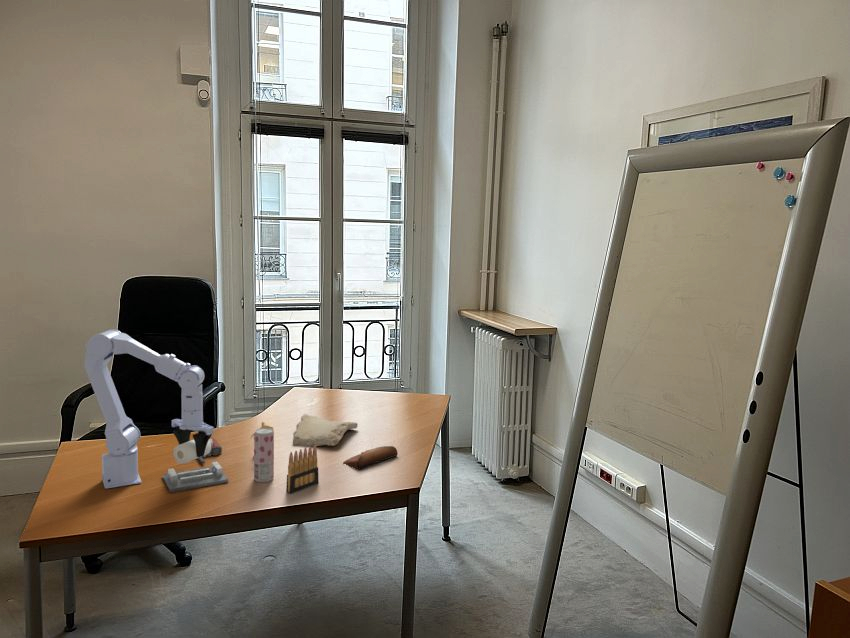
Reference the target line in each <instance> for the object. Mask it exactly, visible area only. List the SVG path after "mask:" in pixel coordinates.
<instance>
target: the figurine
mask: <svg viewBox="0 0 850 638" xmlns="http://www.w3.org/2000/svg"><path fill="white" fill-rule="evenodd" d="M260 428H270V429H272V430H273V433H274V434H275V432H274V431H275V430H274V427H272V426H269V425H267V424H266V423H265V422H264V421H262V422H261V426H260ZM260 428H258V429H260ZM254 434H255V432H254V433H252V435H251V436H250V439H252V438H254Z"/></svg>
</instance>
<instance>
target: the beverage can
mask: <svg viewBox="0 0 850 638" xmlns="http://www.w3.org/2000/svg"><path fill="white" fill-rule="evenodd" d="M273 430H274V429H273ZM273 430H272V429H270V428H261V427H260V429H259V428H257V429H255V430H254V433H255V434H254V433H253V434H254V436H253V453H254V454H253V479H254V480H255V482H257V483H268V482H271V481H273V479H274V477H275V476H274V473H275V472H274V470H275V467H274V466H275V465H274V464H275V458H274V457H275V455H274V454H275V453H274V452H275V451H274V449H275V447H274V446H275V432H274V433H273Z"/></svg>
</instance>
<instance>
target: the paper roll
mask: <svg viewBox="0 0 850 638" xmlns="http://www.w3.org/2000/svg"><path fill="white" fill-rule="evenodd" d="M210 451H211V443H210V441H208V443H207V446H206V449H205V453H204V455H207V454H209V453H210ZM173 457H174V459H175V461H176V462H177V463H178V464H180V465H185V464H186V463H190V462H191V461H194V460H197V459H198V458H199V457H197V455H196V445H195V441H194V439H190V441H188V442H186V443H183V444H180V445H179V444H177V445H176V446H175V447H174V448H173ZM201 457H202V456H201ZM202 458H203V457H202Z"/></svg>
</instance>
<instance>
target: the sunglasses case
mask: <svg viewBox="0 0 850 638" xmlns="http://www.w3.org/2000/svg"><path fill="white" fill-rule="evenodd" d="M394 457H398V450H397V448H396V447H395V446H393V445H384V446H383V445H382V446H380V447H379V446H378V447H375V448H374V447H373V448H371V449H368V450H367V449H366V450H365V451H361V453H360V454H356V455H355V456H352V457H350V458H348V459H346V460H344V461H343V462H342V463H343V465H344V464H346V465H345V466H347V465H348V467H350V468H352V467H353V468H352V469H354V468H355V470H357V469H358V470H357V471H359V470H361V469H363V468H366V467H369V466H370V465H373V464H375V463H378V462H381V461H383V460H388V459H390V458H394Z"/></svg>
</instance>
